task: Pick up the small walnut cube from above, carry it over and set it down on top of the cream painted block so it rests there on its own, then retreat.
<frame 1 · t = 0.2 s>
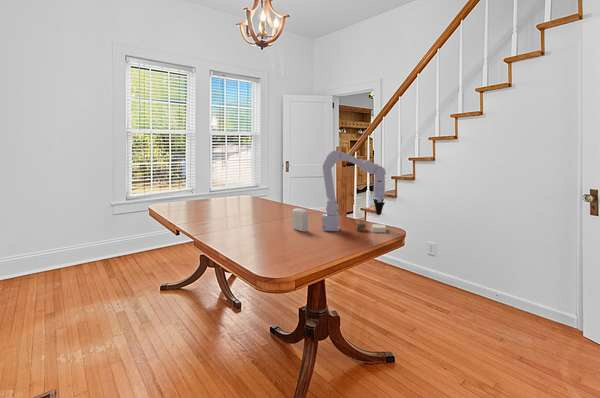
hand: (378, 213, 178), 10 cm above the table, fingers open, 7 cm apart
walnut cube: (361, 230, 181), on the table
cream block: (378, 231, 179), on the table
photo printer: (300, 230, 184), on the table
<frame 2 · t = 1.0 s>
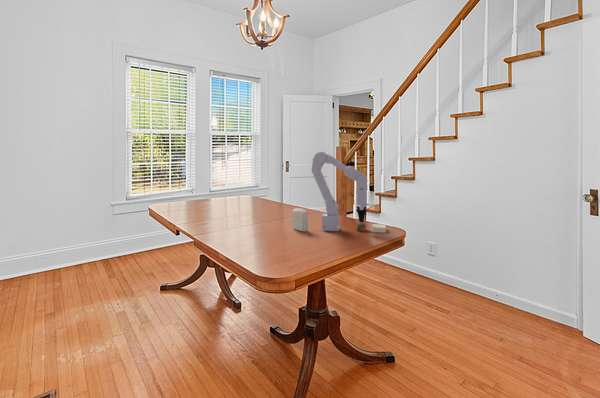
hand: (361, 220, 180), 6 cm above the table, fingers open, 7 cm apart
nothing on the table moved.
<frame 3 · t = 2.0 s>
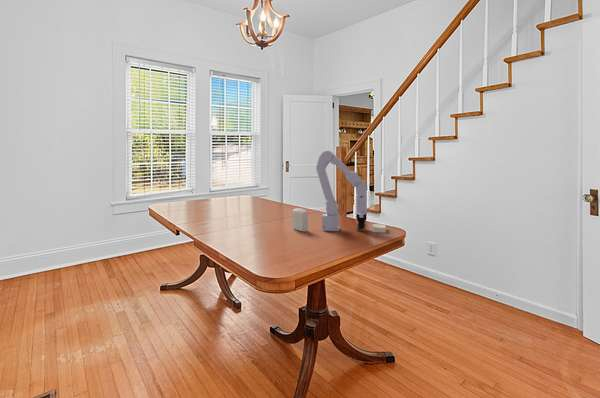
hand: (361, 227, 181), 1 cm above the table, fingers closed on walnut cube, 4 cm apart
walnut cube: (361, 230, 181), on the table, touching gripper
everything else where it was.
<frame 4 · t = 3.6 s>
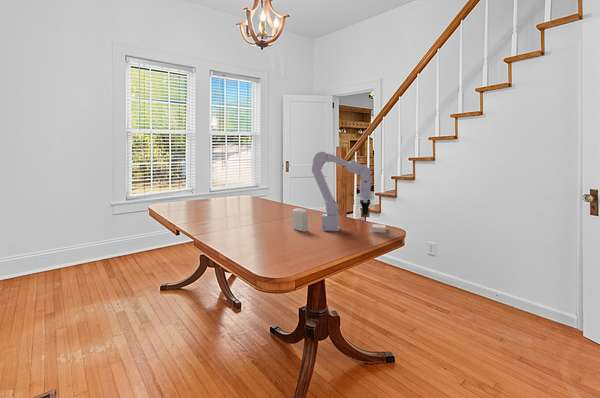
hand: (365, 213, 179), 10 cm above the table, fingers closed on walnut cube, 4 cm apart
walnut cube: (365, 216, 179), point 8 cm above the table, touching gripper
everything else where it was.
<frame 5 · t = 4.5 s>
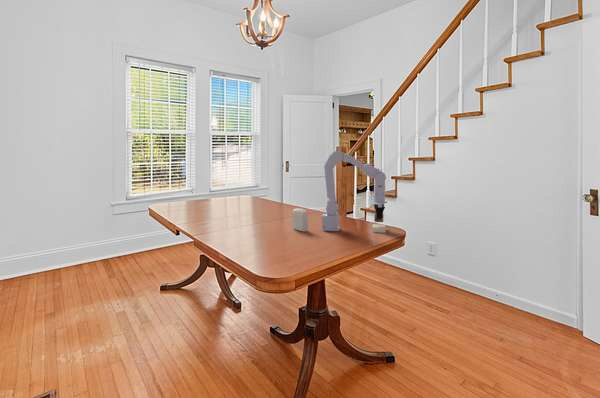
hand: (379, 218, 178), 7 cm above the table, fingers closed on walnut cube, 4 cm apart
walnut cube: (378, 221, 178), point 5 cm above the table, touching gripper
everything else where it was.
when the fingers open (5 cm above the table, at t = 5.2 s): walnut cube drops 1 cm, point 3 cm above the table.
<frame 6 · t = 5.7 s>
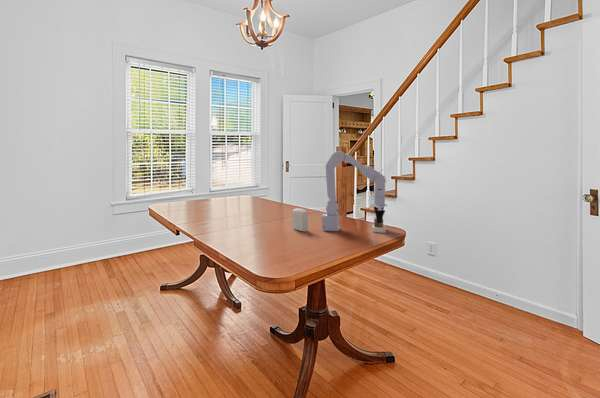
hand: (378, 221, 178), 5 cm above the table, fingers open, 7 cm apart
walnut cube: (378, 226, 179), point 3 cm above the table
everything else where it was.
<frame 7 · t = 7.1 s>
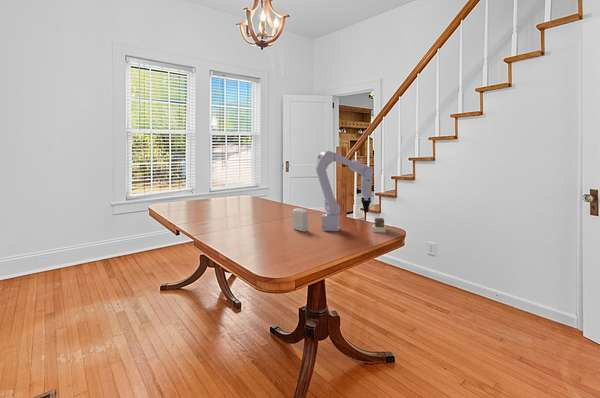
hand: (366, 210, 187), 9 cm above the table, fingers open, 7 cm apart
walnut cube: (379, 226, 179), point 3 cm above the table, touching cream block
cream block: (378, 231, 179), on the table, touching walnut cube
everything else where it was.
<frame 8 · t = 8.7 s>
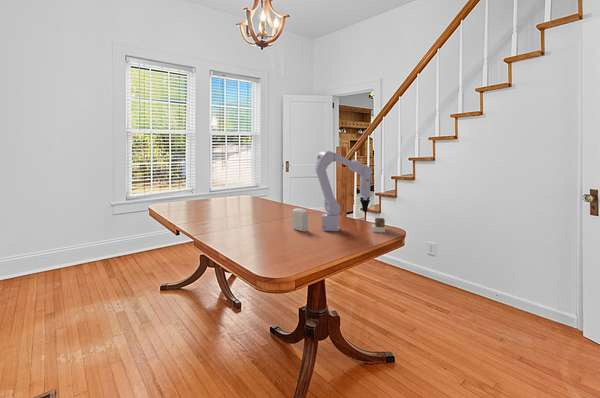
hand: (364, 210, 188), 9 cm above the table, fingers open, 7 cm apart
nothing on the table moved.
at the end: walnut cube 0.6 cm off-centre on the cream block, point 3.0 cm above the cream block's base; walnut cube tilted 0°; walnut cube touching cream block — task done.
